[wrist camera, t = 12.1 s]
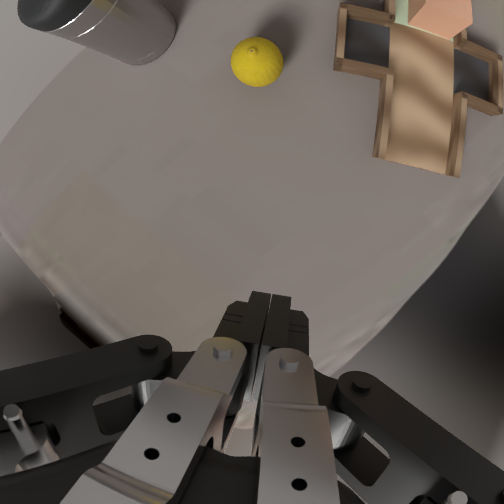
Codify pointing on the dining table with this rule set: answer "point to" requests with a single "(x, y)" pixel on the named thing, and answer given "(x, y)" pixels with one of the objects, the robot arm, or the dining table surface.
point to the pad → (405, 15)
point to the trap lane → (418, 85)
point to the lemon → (256, 61)
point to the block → (440, 16)
